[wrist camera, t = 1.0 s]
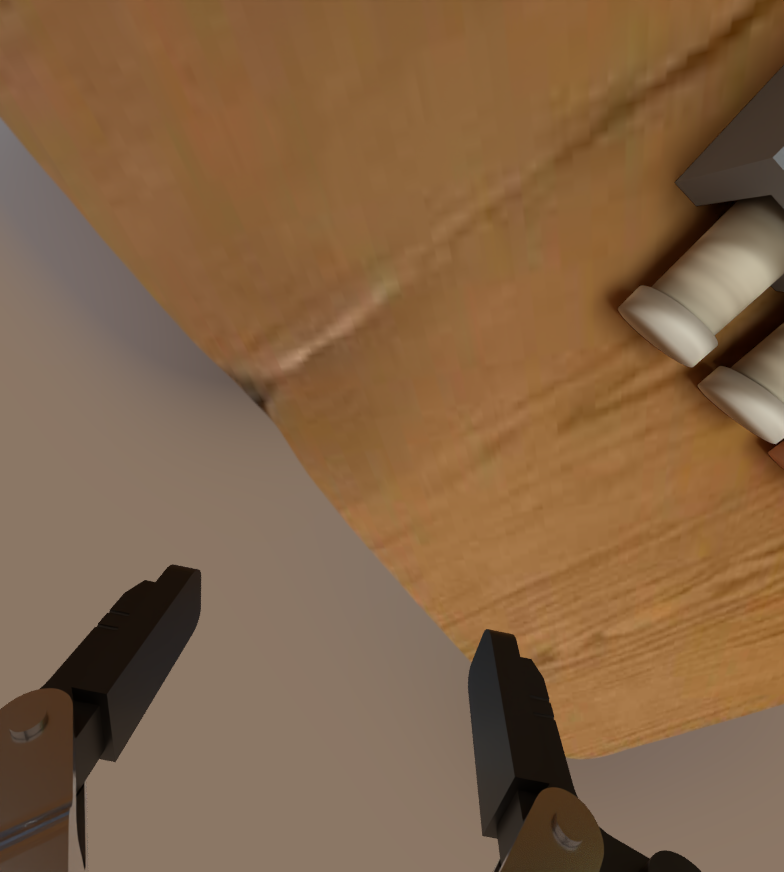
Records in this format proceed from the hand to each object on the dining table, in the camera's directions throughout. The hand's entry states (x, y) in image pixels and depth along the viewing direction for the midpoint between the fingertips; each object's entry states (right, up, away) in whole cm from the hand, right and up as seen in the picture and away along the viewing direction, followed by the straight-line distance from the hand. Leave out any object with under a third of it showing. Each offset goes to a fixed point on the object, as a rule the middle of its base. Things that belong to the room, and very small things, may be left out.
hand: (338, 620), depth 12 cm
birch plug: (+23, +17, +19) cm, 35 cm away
